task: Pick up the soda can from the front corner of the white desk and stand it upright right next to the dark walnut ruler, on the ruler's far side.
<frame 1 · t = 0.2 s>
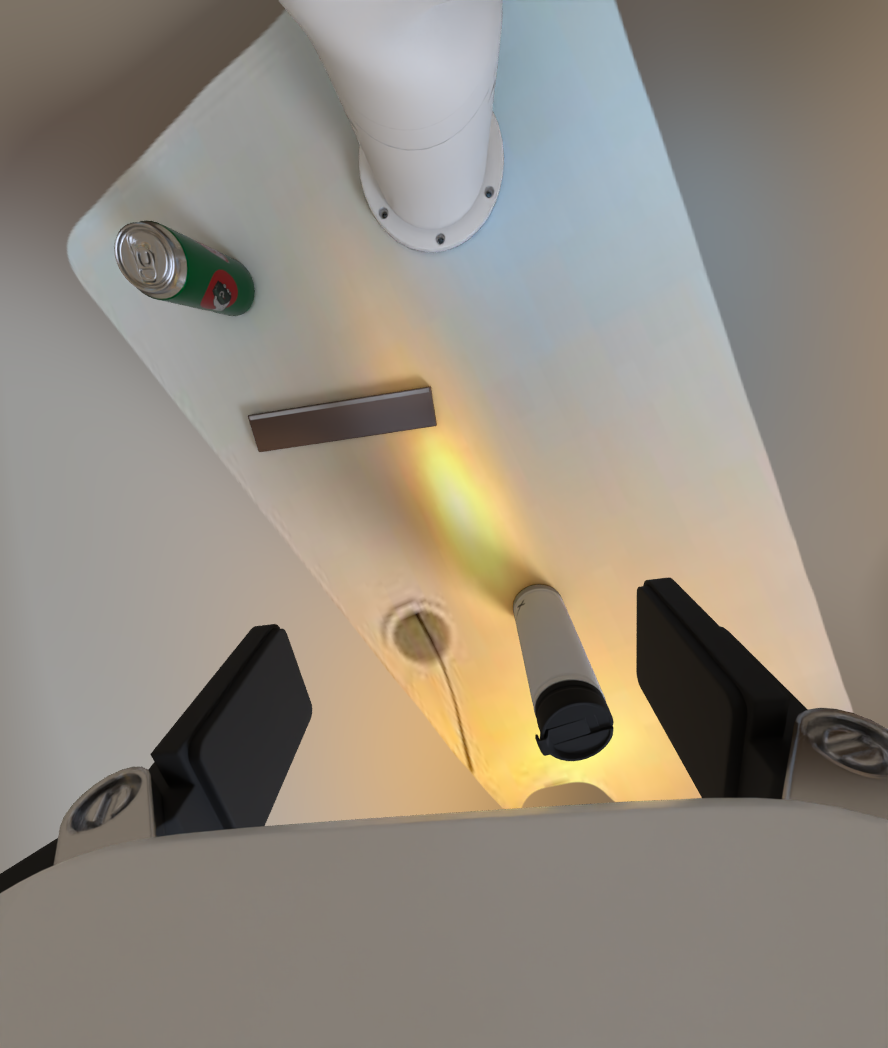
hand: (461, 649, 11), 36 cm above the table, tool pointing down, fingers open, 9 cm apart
travel mug: (536, 604, 52), on the table
soda can: (233, 288, 41), on the table
ruler: (343, 419, 45), on the table
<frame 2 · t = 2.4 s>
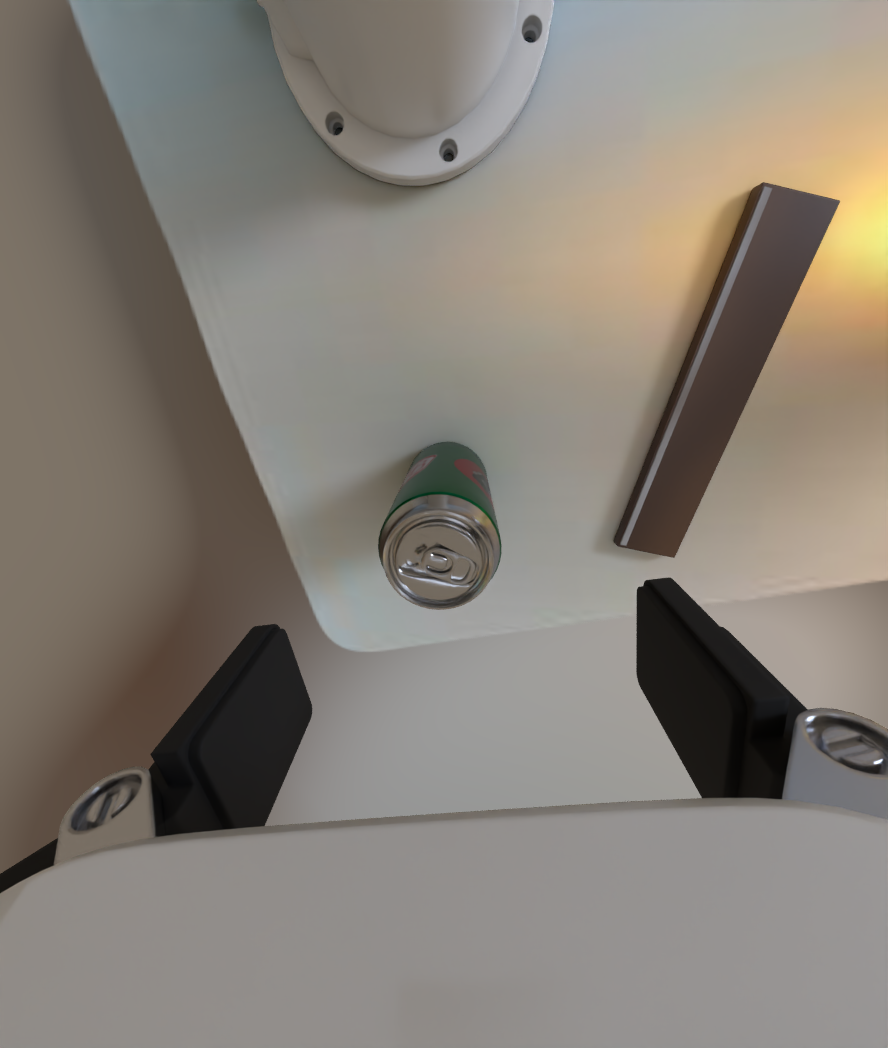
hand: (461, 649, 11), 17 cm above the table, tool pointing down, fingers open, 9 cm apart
soda can: (447, 477, 27), on the table
ruler: (704, 398, 24), on the table
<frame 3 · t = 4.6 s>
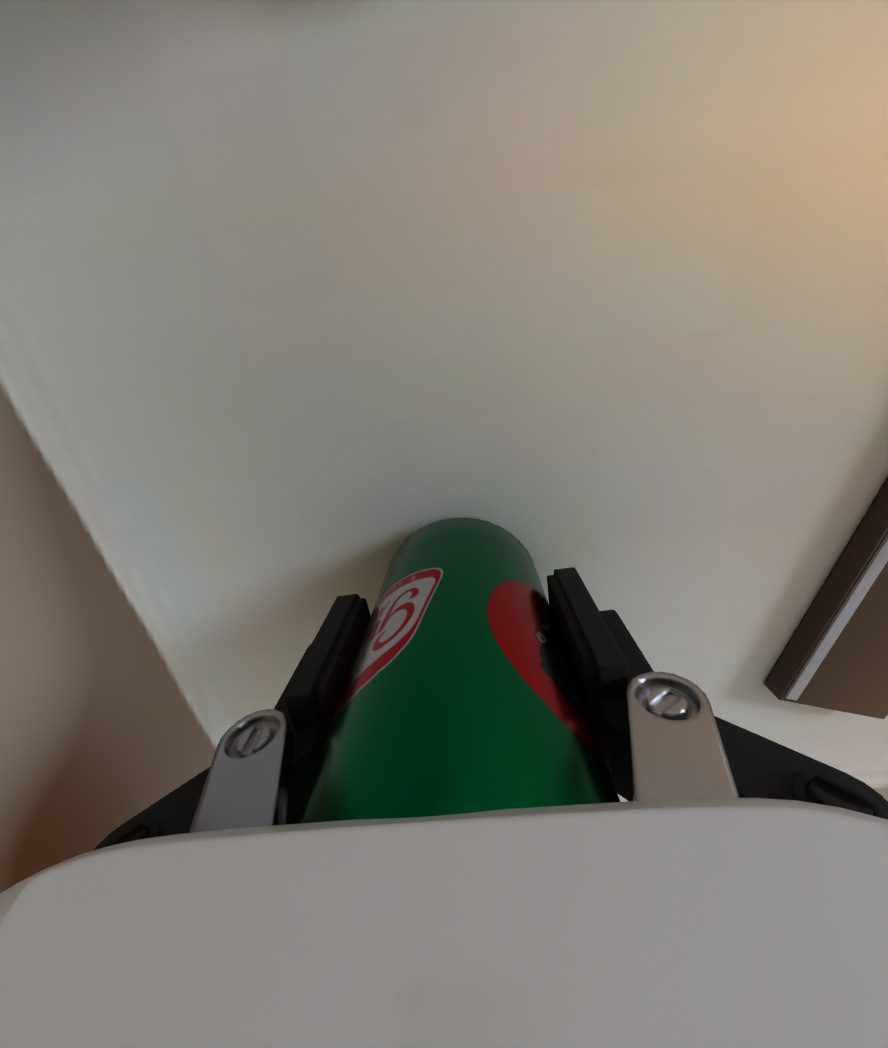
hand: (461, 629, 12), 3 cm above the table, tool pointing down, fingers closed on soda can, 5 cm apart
soda can: (461, 576, 15), on the table, touching gripper
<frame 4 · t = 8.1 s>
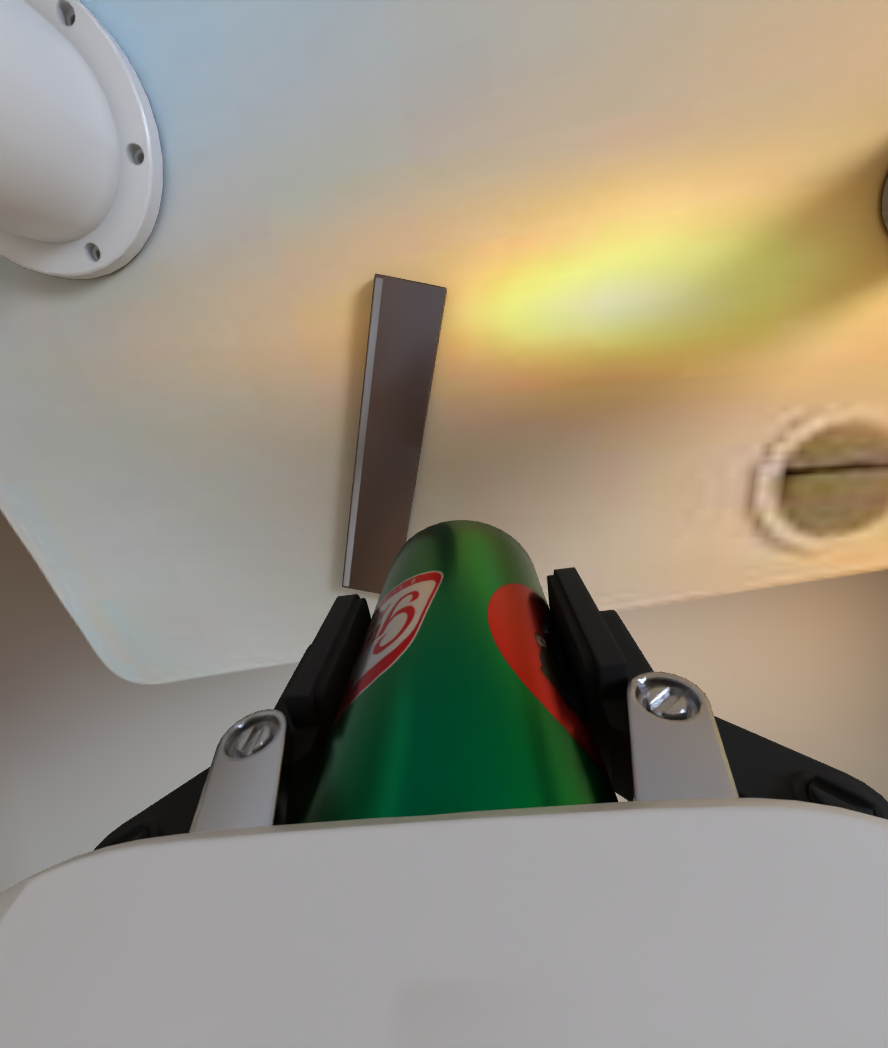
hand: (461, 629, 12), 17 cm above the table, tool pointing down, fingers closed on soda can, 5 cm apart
soda can: (461, 578, 15), point 14 cm above the table, touching gripper
ruler: (389, 455, 27), on the table
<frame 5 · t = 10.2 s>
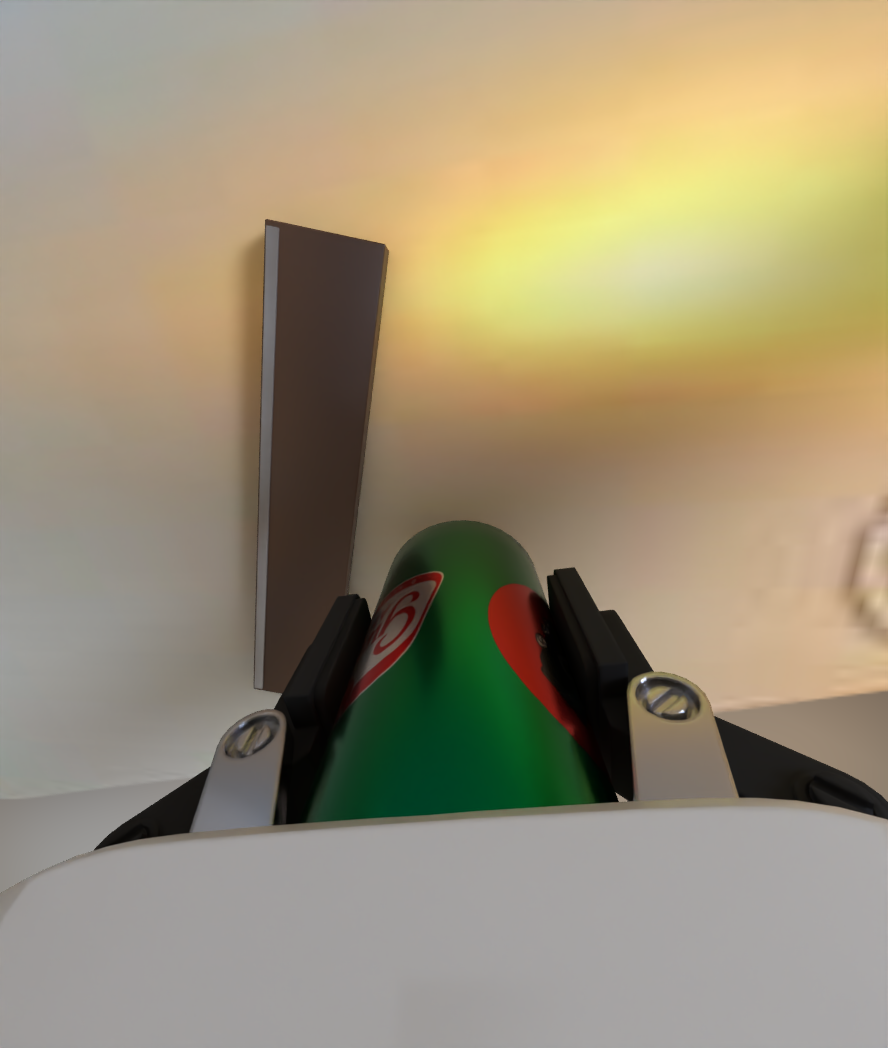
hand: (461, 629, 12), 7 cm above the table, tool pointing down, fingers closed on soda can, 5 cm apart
soda can: (462, 579, 15), point 4 cm above the table, touching gripper
ruler: (312, 506, 18), on the table
when the fingers open (3 cm above the table, at t = 11.6 s): soda can stays where it is, on the table.
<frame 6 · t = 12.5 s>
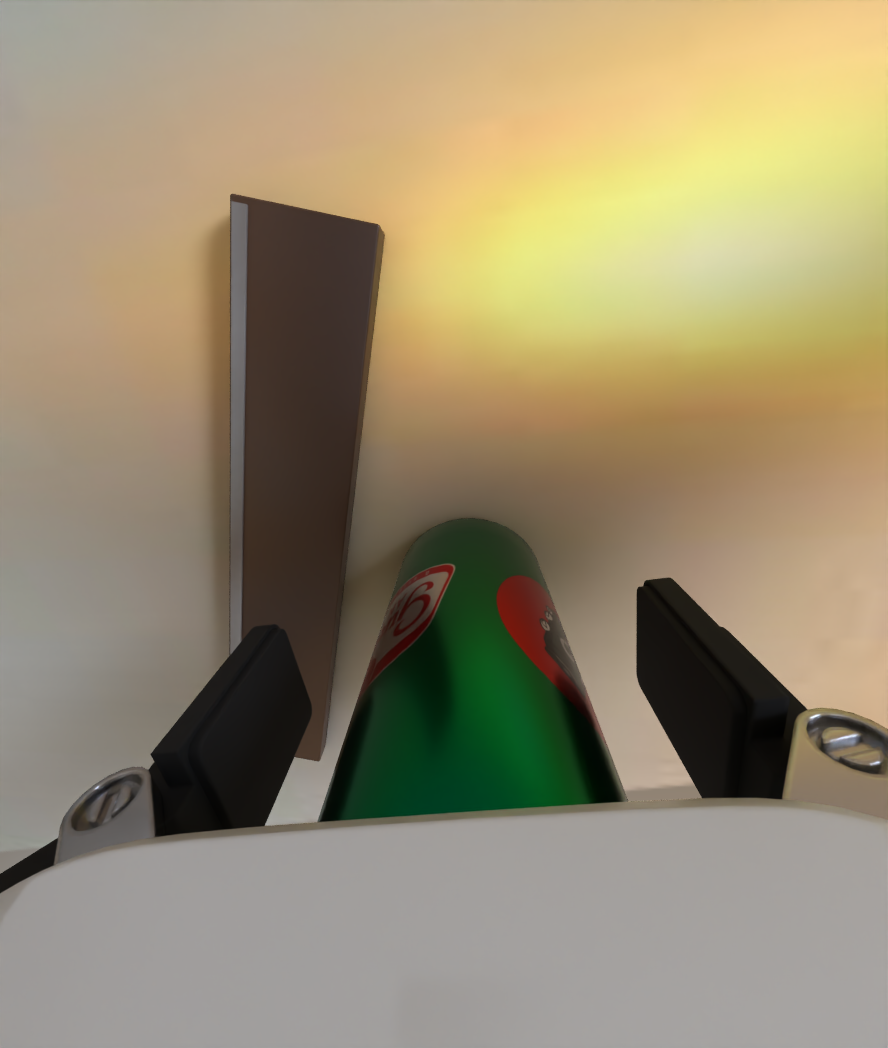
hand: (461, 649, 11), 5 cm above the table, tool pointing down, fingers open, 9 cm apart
soda can: (469, 574, 15), on the table
ruler: (294, 539, 15), on the table
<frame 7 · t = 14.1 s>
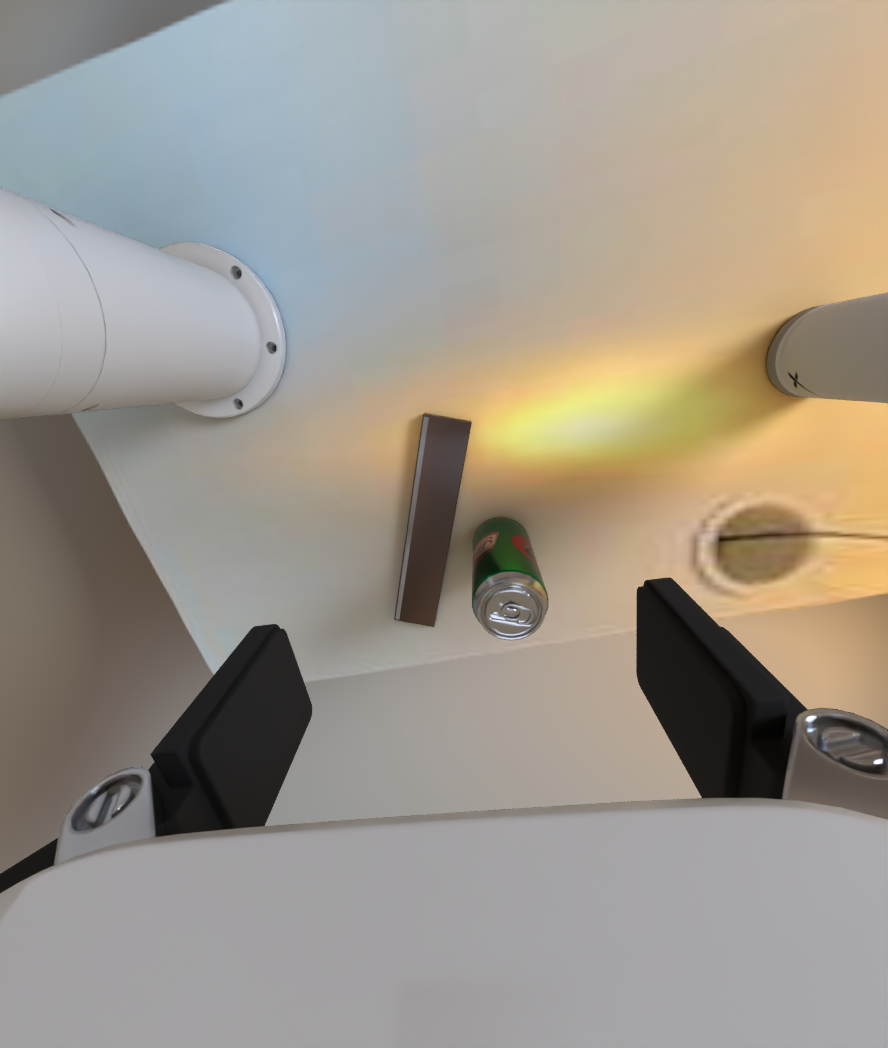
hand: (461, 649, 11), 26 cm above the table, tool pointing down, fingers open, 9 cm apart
travel mug: (807, 355, 31), on the table
soda can: (500, 540, 38), on the table
ruler: (430, 527, 38), on the table
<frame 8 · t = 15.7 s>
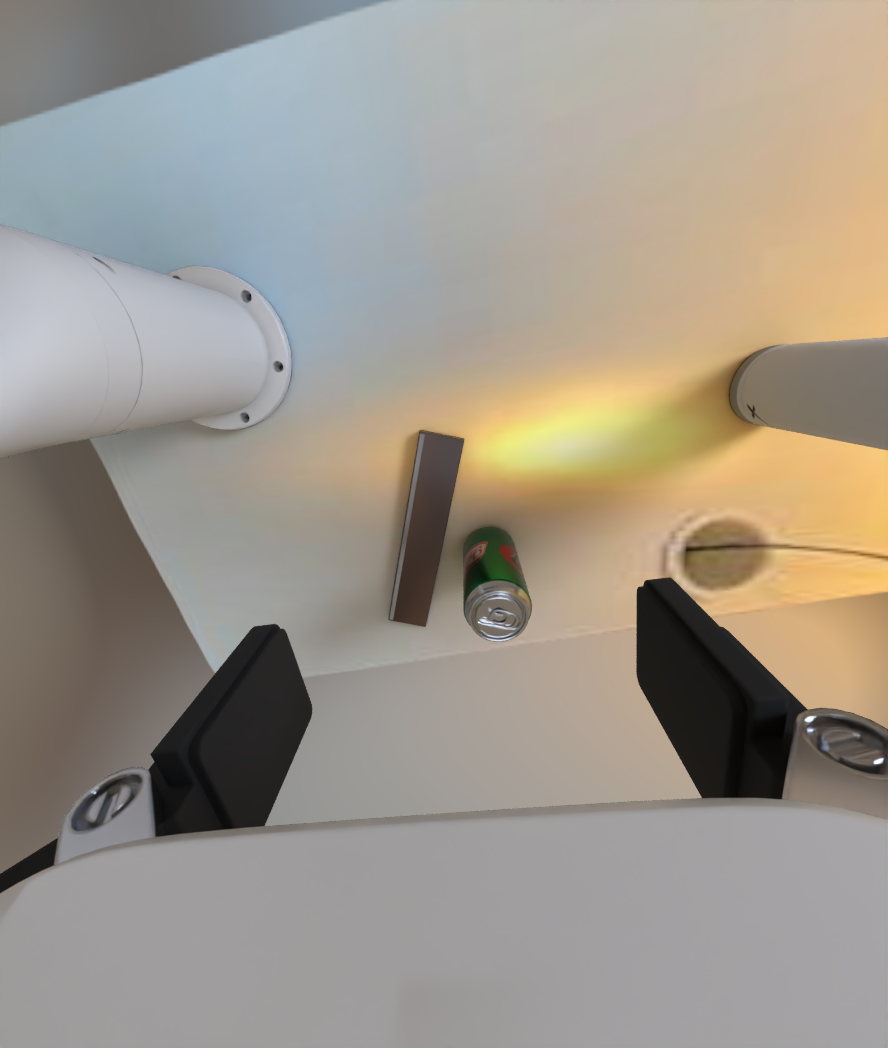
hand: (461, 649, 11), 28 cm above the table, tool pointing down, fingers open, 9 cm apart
travel mug: (765, 388, 35), on the table
soda can: (488, 547, 41), on the table
ruler: (423, 534, 40), on the table
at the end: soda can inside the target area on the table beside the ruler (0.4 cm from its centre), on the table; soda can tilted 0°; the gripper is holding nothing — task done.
